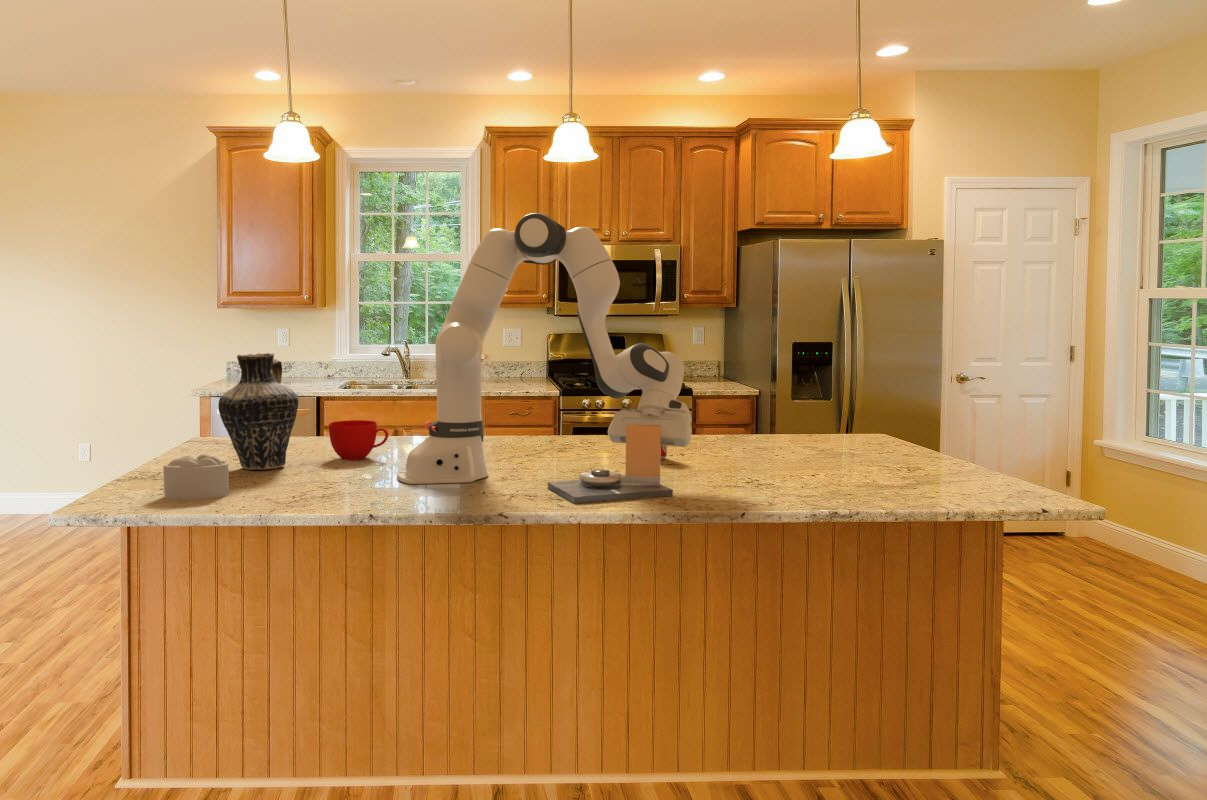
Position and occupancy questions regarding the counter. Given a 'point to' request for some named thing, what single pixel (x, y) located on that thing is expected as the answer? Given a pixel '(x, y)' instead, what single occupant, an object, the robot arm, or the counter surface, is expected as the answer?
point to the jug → (259, 413)
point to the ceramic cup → (354, 438)
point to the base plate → (607, 491)
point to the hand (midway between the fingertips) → (641, 456)
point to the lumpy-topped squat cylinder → (196, 478)
